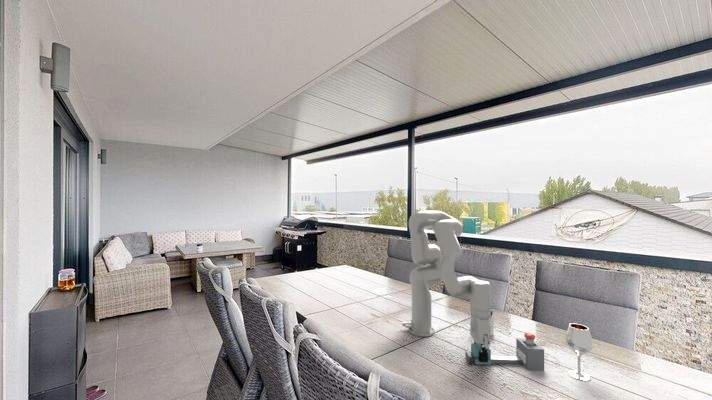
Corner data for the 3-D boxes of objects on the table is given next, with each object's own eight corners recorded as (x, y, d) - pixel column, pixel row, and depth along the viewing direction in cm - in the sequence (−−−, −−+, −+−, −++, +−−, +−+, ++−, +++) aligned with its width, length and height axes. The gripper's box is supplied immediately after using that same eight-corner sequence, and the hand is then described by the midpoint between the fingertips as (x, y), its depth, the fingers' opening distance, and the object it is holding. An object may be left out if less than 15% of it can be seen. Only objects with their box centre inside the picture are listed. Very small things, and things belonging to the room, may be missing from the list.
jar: (485, 338, 137) (485, 313, 137) (470, 332, 144) (470, 308, 144) (496, 334, 142) (496, 309, 142) (481, 328, 149) (481, 304, 149)
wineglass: (560, 369, 111) (559, 322, 112) (580, 369, 112) (579, 321, 112) (578, 383, 103) (577, 331, 103) (599, 381, 104) (599, 331, 104)
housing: (527, 370, 111) (527, 348, 111) (515, 357, 120) (515, 338, 120) (544, 370, 111) (544, 349, 111) (531, 358, 120) (531, 338, 120)
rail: (469, 365, 114) (469, 356, 114) (465, 358, 119) (465, 350, 119) (525, 367, 113) (525, 358, 113) (518, 360, 118) (518, 352, 118)
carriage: (475, 364, 114) (475, 349, 114) (470, 357, 119) (470, 343, 119) (490, 364, 114) (490, 349, 114) (485, 357, 119) (485, 343, 119)
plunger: (527, 349, 114) (527, 336, 114) (522, 345, 117) (522, 332, 118) (536, 349, 114) (536, 336, 114) (531, 345, 117) (531, 332, 117)
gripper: (464, 304, 126) (464, 347, 125) (478, 320, 109) (478, 369, 108) (482, 305, 125) (482, 347, 125) (499, 320, 108) (499, 370, 108)
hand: (480, 357), depth 117 cm, fingers closed on carriage, 5 cm apart
